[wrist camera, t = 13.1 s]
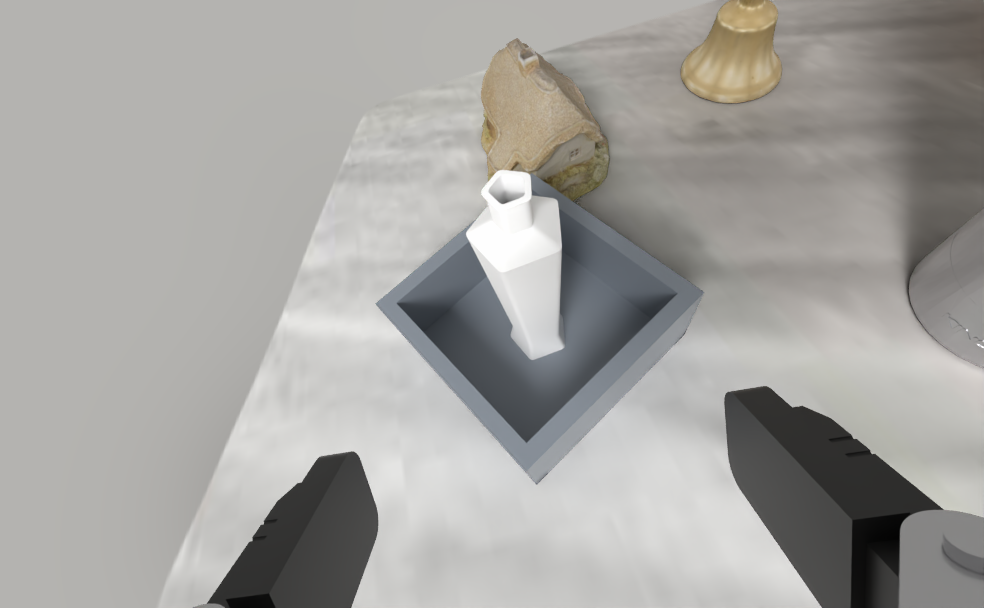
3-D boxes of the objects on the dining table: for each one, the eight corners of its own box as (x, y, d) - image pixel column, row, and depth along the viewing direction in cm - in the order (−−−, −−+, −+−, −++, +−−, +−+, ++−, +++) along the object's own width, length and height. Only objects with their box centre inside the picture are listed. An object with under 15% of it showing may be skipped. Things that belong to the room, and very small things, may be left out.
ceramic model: (636, 183, 38) (651, 76, 29) (511, 238, 38) (489, 145, 29) (561, 86, 45) (555, -25, 36) (455, 131, 44) (423, 31, 36)
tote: (539, 224, 37) (531, 173, 32) (684, 334, 31) (704, 292, 26) (407, 339, 35) (375, 303, 30) (536, 484, 29) (525, 471, 23)
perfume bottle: (504, 306, 33) (453, 155, 20) (565, 301, 33) (553, 141, 20) (505, 366, 31) (449, 240, 18) (571, 362, 31) (560, 228, 18)
